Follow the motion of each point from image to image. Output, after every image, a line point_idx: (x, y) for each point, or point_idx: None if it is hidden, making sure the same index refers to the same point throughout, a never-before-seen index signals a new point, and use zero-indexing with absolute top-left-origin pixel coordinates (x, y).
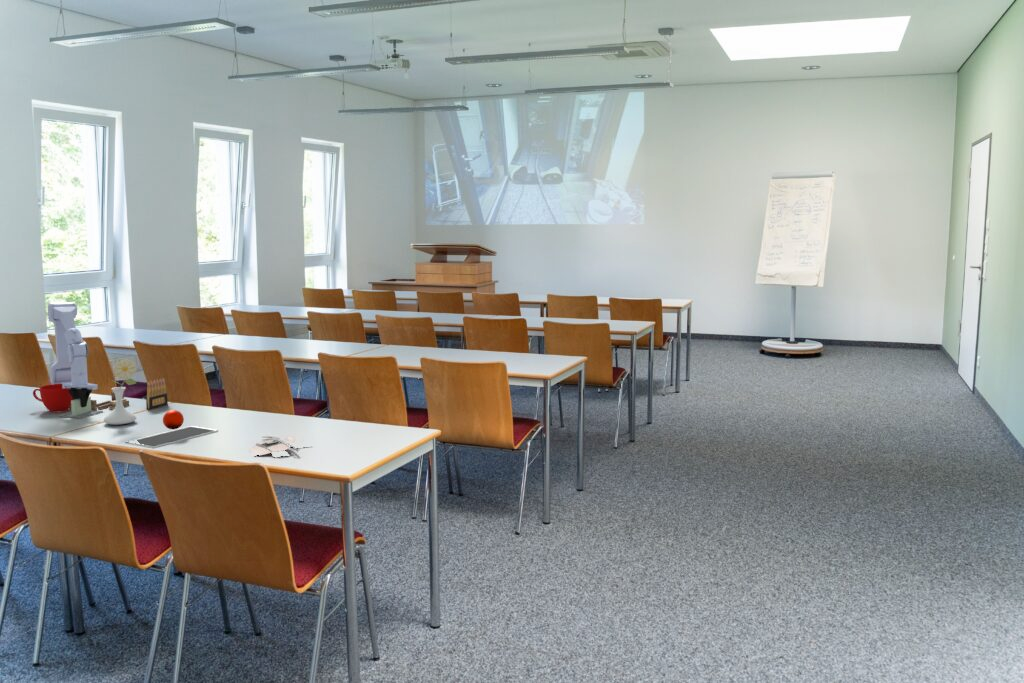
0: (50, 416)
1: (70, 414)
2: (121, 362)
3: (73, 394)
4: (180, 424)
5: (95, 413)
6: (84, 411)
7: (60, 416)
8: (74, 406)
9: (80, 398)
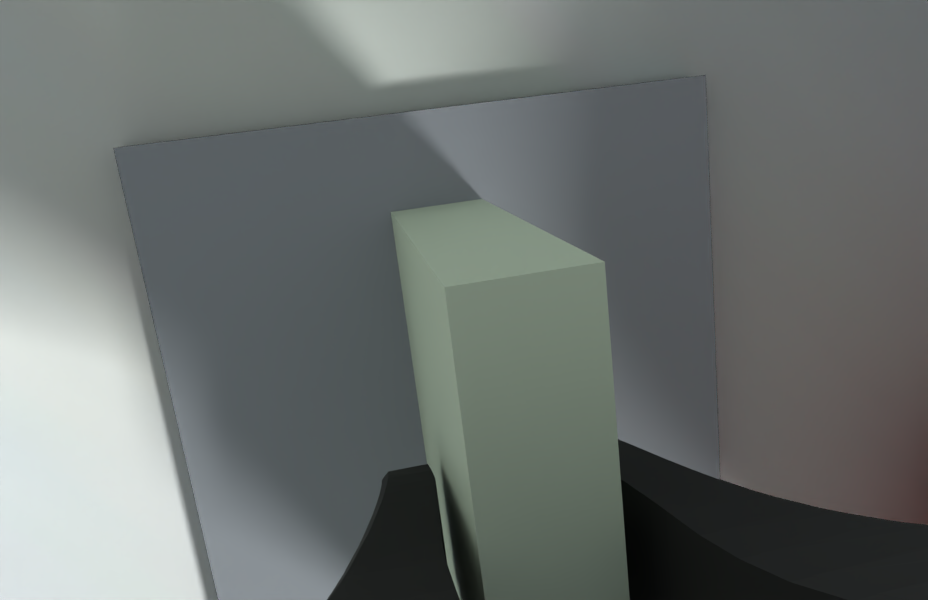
0: (900, 58)
1: None
2: None
3: (785, 565)
4: None
5: (213, 568)
6: None
7: (678, 79)
8: (428, 243)
9: (437, 572)
